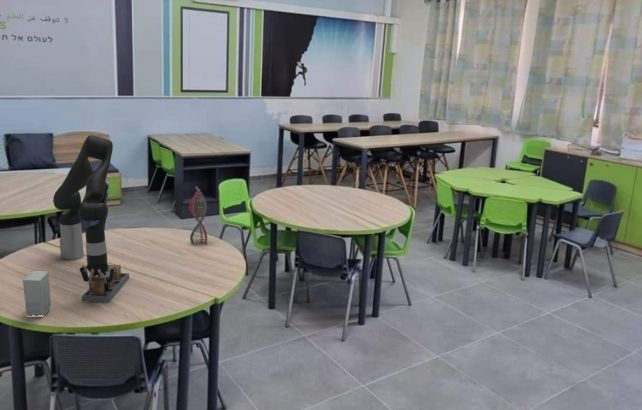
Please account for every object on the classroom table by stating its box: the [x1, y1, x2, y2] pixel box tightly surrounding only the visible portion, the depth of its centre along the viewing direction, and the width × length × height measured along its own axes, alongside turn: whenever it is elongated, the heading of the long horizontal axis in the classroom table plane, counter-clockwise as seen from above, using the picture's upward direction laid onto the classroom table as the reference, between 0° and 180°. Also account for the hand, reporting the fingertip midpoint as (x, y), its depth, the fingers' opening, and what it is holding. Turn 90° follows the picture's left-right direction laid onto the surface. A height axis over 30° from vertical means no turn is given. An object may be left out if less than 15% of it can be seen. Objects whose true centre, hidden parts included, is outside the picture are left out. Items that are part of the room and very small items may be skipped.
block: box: [90, 276, 106, 295], centre depth 222 cm, size 5×5×6 cm
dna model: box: [188, 186, 208, 245], centre depth 285 cm, size 9×9×30 cm
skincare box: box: [22, 270, 52, 316], centre depth 207 cm, size 8×7×16 cm
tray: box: [81, 263, 130, 303], centre depth 230 cm, size 11×24×7 cm, turn 0°
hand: (99, 290), depth 223 cm, fingers closed on block, 5 cm apart
